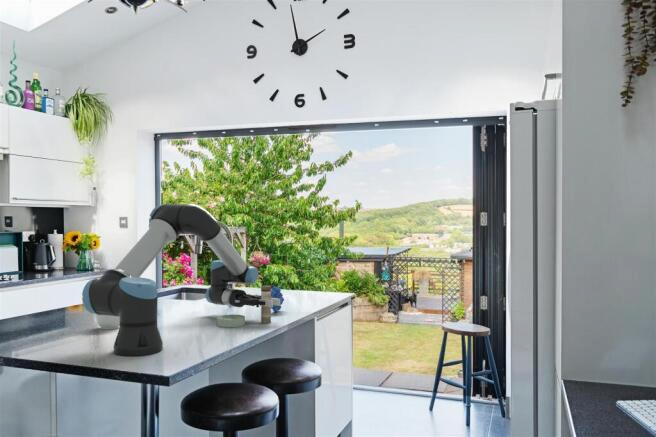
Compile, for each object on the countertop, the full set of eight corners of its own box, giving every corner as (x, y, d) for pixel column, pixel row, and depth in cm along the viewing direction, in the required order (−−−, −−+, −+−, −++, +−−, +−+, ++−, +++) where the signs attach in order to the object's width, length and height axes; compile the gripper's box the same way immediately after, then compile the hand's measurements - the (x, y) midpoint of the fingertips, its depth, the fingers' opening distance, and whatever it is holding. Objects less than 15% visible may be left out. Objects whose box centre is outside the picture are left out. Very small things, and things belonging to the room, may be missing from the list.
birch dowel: (268, 323, 224) (268, 287, 224) (259, 323, 225) (259, 286, 225) (272, 321, 228) (272, 285, 228) (263, 321, 229) (263, 285, 229)
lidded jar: (114, 331, 208) (114, 306, 208) (89, 330, 210) (89, 305, 210) (130, 325, 218) (130, 302, 218) (106, 324, 221) (106, 301, 220)
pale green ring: (237, 327, 215) (237, 320, 215) (212, 326, 218) (212, 318, 218) (249, 322, 226) (249, 315, 226) (224, 321, 229) (224, 313, 229)
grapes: (278, 314, 244) (278, 287, 244) (265, 313, 247) (265, 287, 247) (289, 310, 255) (289, 284, 255) (276, 309, 258) (276, 284, 258)
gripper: (248, 304, 244) (289, 309, 230) (220, 309, 230) (261, 315, 217) (248, 287, 244) (289, 291, 230) (220, 291, 230) (261, 296, 217)
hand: (275, 303), depth 224 cm, fingers closed on birch dowel, 4 cm apart
